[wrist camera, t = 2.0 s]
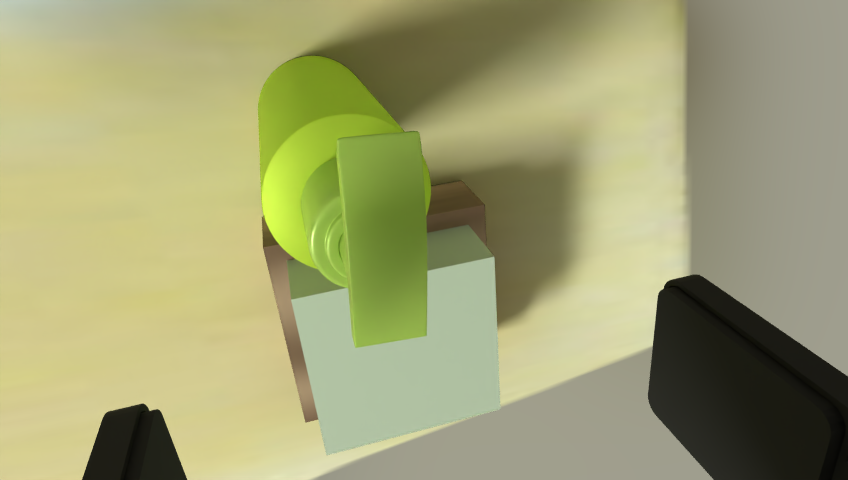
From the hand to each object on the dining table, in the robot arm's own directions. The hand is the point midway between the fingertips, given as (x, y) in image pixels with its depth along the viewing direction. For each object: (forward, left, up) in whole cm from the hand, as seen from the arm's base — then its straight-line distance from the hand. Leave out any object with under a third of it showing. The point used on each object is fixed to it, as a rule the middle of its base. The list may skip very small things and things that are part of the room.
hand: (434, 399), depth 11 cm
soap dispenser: (0, 0, -24) cm, 24 cm away
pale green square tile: (+12, +2, -20) cm, 23 cm away
